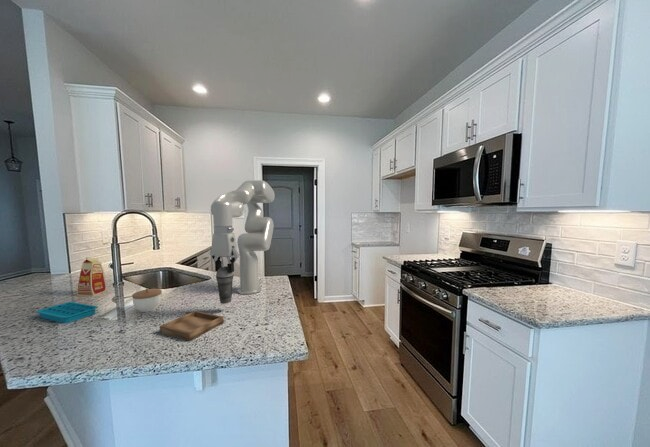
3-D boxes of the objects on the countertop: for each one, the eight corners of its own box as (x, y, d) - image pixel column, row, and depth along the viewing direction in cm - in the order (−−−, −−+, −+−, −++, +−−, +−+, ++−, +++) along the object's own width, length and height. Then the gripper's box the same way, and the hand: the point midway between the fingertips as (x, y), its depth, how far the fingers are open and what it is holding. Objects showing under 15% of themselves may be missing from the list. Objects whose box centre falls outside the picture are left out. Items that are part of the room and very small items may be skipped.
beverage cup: (228, 305, 106) (226, 258, 104) (213, 304, 107) (211, 258, 106) (237, 299, 113) (236, 255, 112) (223, 298, 115) (221, 254, 113)
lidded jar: (162, 310, 111) (161, 289, 110) (131, 316, 105) (130, 294, 105) (162, 303, 120) (161, 283, 119) (134, 308, 114) (133, 287, 114)
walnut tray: (195, 316, 105) (195, 310, 105) (223, 322, 99) (223, 316, 99) (160, 332, 91) (159, 326, 91) (189, 341, 85) (189, 333, 85)
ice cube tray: (70, 308, 115) (70, 301, 115) (99, 313, 109) (99, 306, 109) (34, 318, 104) (34, 311, 104) (65, 325, 98) (64, 317, 98)
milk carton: (93, 296, 130) (91, 257, 129) (75, 296, 130) (73, 257, 129) (108, 290, 139) (107, 254, 138) (92, 290, 139) (90, 254, 138)
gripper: (245, 230, 108) (246, 271, 109) (214, 228, 115) (216, 267, 116) (232, 231, 101) (234, 275, 102) (201, 230, 108) (202, 271, 109)
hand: (224, 271), depth 109 cm, fingers closed on beverage cup, 6 cm apart
